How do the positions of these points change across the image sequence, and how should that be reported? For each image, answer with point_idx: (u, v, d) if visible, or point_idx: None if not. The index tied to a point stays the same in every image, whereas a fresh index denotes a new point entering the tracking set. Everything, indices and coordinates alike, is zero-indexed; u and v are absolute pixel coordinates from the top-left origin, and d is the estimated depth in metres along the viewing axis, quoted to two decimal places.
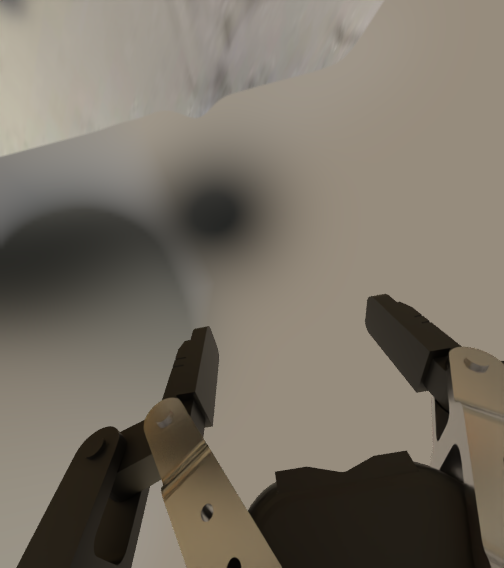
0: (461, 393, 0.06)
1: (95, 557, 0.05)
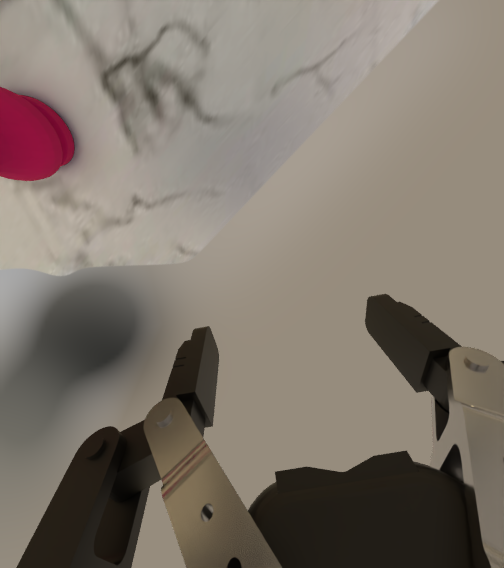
0: (461, 393, 0.06)
1: (95, 557, 0.05)
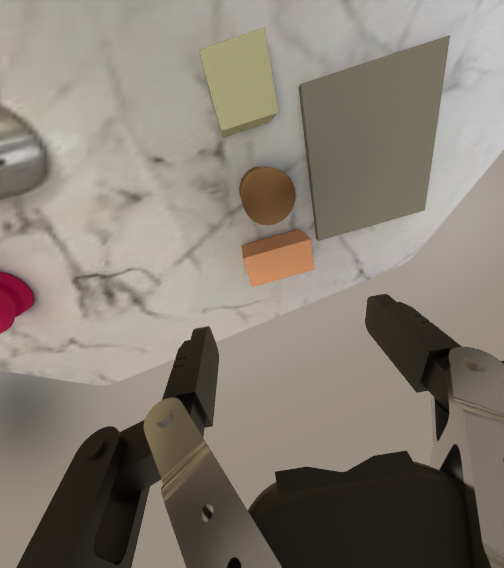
0: (461, 393, 0.06)
1: (95, 557, 0.05)
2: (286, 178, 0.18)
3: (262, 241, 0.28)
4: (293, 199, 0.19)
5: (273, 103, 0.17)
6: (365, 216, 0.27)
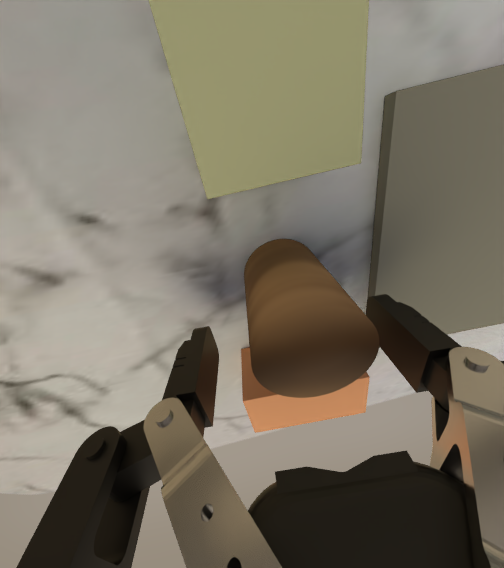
0: (461, 393, 0.06)
1: (95, 557, 0.05)
2: (365, 326, 0.07)
3: None
4: (370, 360, 0.08)
5: (353, 140, 0.06)
6: (453, 320, 0.16)
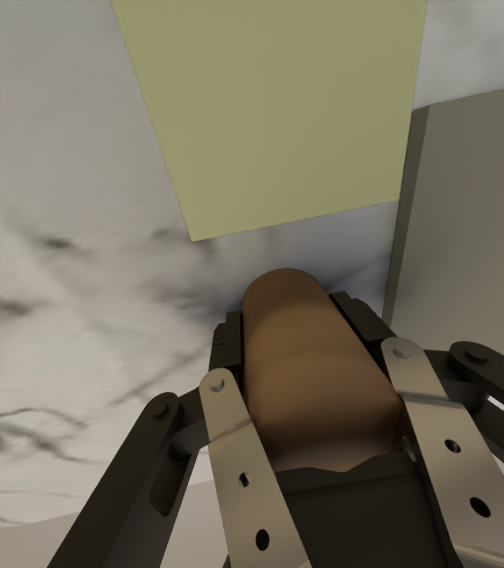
0: (398, 383, 0.06)
1: (149, 505, 0.05)
2: (399, 412, 0.05)
3: None
4: None
5: (391, 170, 0.05)
6: None
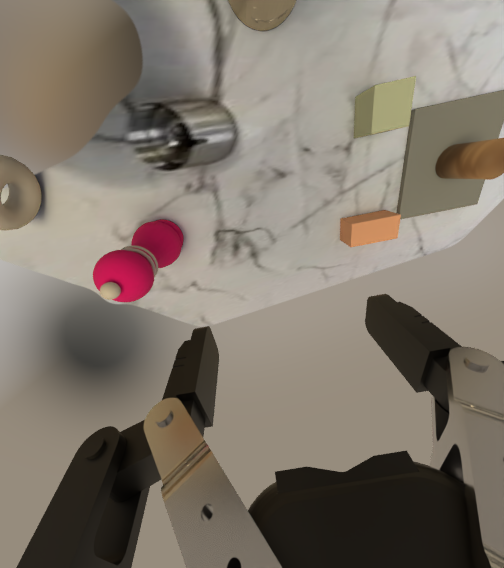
0: (461, 393, 0.06)
1: (95, 557, 0.05)
2: None
3: (357, 216, 0.38)
4: None
5: (407, 120, 0.28)
6: (435, 204, 0.38)
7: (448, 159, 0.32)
